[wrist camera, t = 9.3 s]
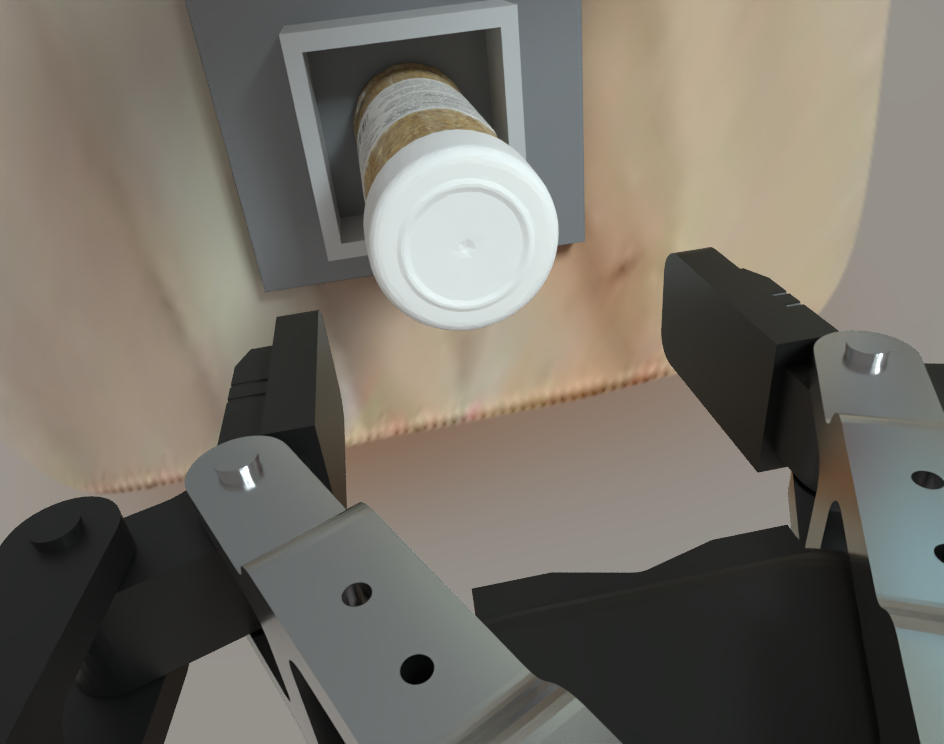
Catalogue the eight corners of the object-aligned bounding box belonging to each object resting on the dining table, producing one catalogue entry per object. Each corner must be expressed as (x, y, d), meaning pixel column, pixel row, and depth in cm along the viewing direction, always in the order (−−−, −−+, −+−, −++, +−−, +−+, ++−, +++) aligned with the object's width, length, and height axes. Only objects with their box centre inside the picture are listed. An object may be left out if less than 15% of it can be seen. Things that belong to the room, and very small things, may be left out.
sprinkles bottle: (447, 194, 29) (520, 355, 18) (338, 161, 28) (343, 313, 17) (485, 81, 27) (595, 183, 16) (369, 40, 26) (400, 119, 15)
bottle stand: (181, -33, 25) (158, -30, 21) (571, -78, 26) (608, -82, 23) (267, 282, 31) (259, 324, 28) (578, 233, 32) (607, 267, 29)
